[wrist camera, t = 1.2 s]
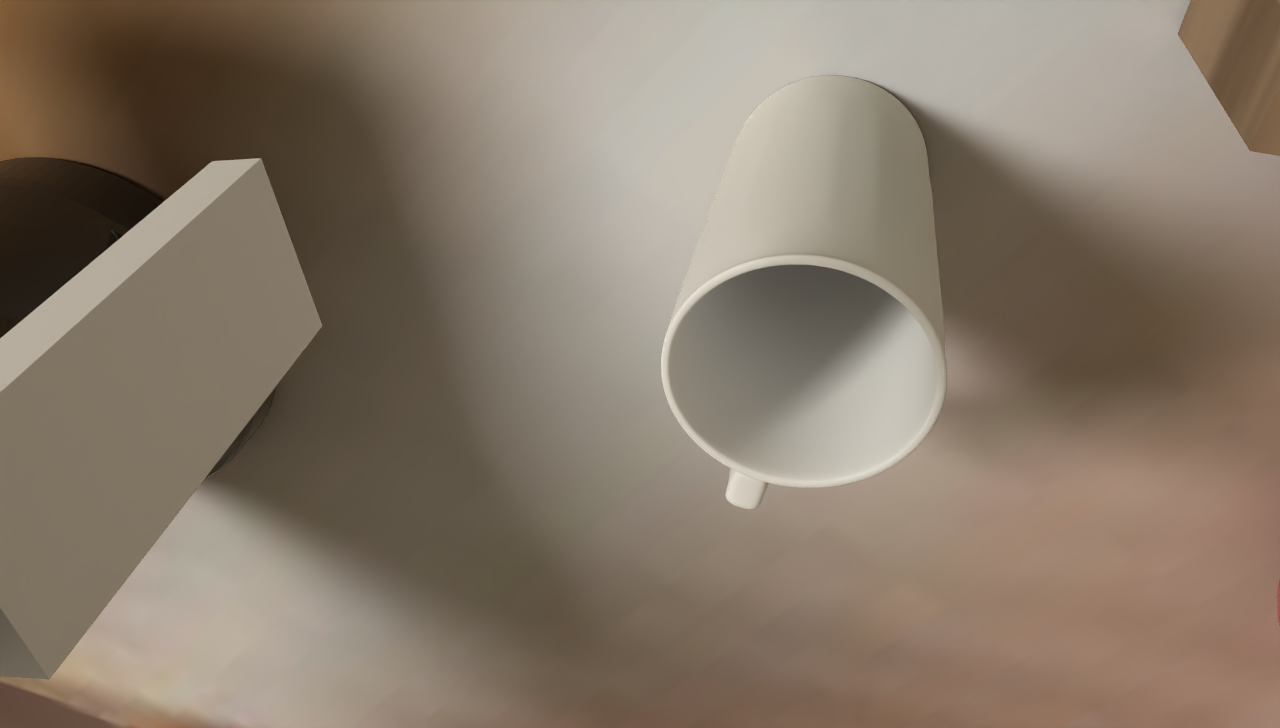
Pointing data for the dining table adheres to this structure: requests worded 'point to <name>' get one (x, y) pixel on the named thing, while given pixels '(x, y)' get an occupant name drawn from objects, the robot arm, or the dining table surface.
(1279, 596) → the apple
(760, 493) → the mug
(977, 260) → the dining table surface
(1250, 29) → the block
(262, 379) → the robot arm
